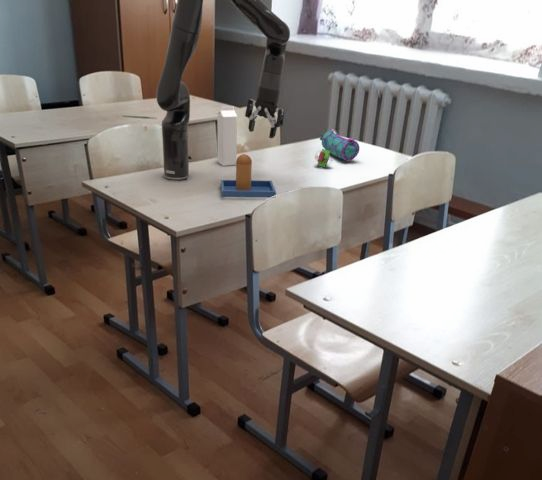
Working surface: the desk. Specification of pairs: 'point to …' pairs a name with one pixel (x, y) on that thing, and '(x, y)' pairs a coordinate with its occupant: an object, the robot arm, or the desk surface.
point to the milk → (226, 136)
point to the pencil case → (340, 145)
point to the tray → (257, 190)
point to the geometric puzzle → (322, 157)
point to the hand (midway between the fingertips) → (261, 134)
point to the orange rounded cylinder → (243, 173)
